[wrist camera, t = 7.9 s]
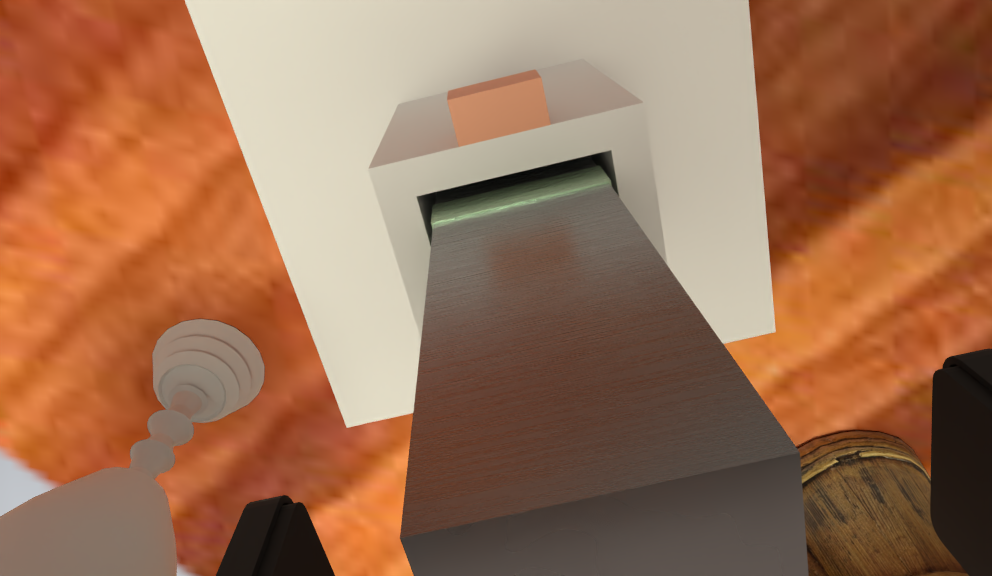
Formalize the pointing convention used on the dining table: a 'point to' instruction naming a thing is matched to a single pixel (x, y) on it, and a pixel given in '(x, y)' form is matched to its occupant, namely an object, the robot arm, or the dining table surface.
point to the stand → (485, 147)
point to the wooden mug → (869, 509)
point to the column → (582, 402)
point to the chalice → (136, 468)
